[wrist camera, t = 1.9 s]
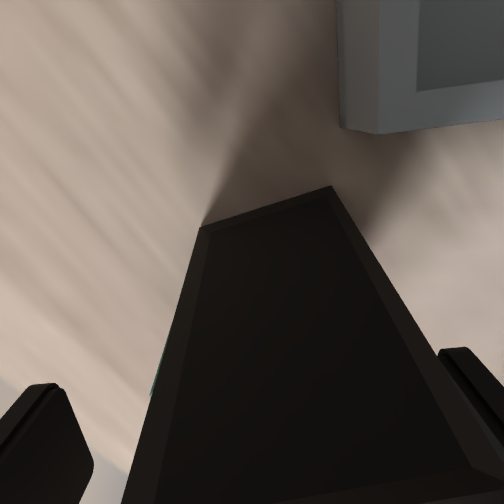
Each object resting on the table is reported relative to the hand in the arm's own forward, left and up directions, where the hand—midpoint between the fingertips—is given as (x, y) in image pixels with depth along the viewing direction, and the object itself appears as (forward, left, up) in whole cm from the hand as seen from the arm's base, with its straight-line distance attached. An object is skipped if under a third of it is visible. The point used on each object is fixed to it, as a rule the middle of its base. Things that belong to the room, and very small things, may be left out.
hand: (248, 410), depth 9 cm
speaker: (-1, 0, -7) cm, 6 cm away
